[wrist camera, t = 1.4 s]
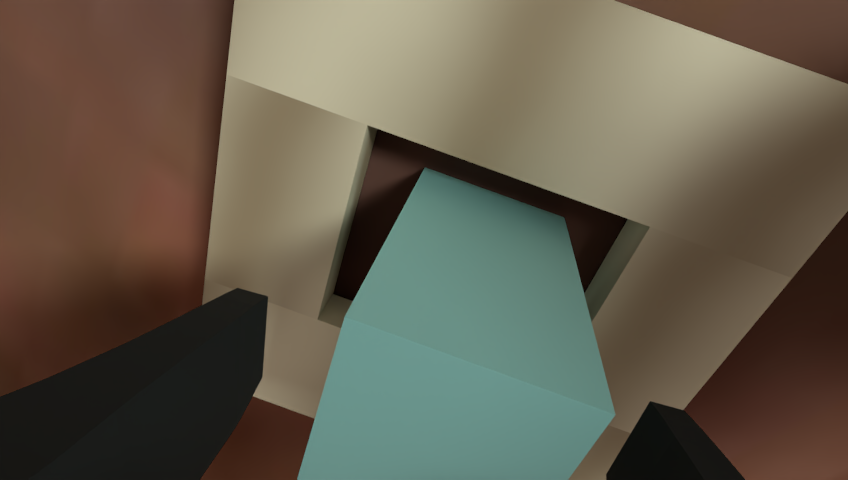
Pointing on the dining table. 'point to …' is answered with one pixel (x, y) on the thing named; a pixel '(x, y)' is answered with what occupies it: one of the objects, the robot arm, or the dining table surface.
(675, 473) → the robot arm
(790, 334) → the dining table surface
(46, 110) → the dining table surface
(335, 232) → the board
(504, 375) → the teal block
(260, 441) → the dining table surface
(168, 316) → the dining table surface
